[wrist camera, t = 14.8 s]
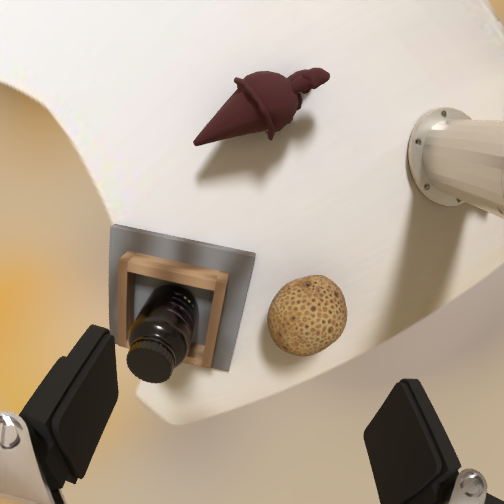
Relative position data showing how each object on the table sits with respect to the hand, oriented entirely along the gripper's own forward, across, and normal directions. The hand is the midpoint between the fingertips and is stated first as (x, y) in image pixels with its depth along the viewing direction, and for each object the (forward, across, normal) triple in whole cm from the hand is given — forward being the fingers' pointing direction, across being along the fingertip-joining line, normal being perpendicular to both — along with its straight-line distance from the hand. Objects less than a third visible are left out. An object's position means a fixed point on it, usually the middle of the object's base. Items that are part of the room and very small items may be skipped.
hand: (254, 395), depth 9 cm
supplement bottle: (+27, +8, +15) cm, 32 cm away
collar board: (+28, +8, +15) cm, 33 cm away
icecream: (+29, +2, -10) cm, 31 cm away
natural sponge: (+28, -8, +10) cm, 31 cm away
